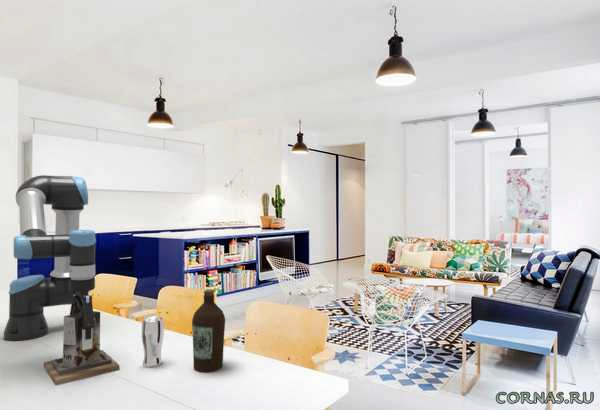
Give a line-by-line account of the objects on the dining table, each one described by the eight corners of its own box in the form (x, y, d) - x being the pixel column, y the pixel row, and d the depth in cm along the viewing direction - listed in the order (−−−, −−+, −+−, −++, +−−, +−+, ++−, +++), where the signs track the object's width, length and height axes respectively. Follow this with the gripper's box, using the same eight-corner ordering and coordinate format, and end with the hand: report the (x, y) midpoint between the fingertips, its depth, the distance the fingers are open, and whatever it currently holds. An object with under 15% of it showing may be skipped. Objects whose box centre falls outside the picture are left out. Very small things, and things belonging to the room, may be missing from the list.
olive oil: (202, 359, 144) (203, 286, 144) (230, 363, 141) (231, 289, 141) (185, 370, 134) (185, 293, 134) (214, 375, 131) (215, 295, 131)
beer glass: (167, 361, 142) (168, 317, 142) (154, 369, 135) (154, 322, 135) (150, 359, 144) (151, 315, 144) (136, 366, 137) (137, 320, 137)
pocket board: (43, 366, 136) (43, 358, 136) (102, 354, 148) (102, 346, 148) (55, 385, 123) (55, 376, 123) (119, 369, 135) (119, 361, 135)
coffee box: (77, 370, 130) (77, 318, 130) (62, 366, 133) (62, 316, 133) (100, 360, 139) (101, 311, 139) (86, 357, 141) (86, 309, 141)
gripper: (60, 273, 142) (59, 335, 143) (79, 285, 124) (78, 357, 124) (84, 271, 147) (83, 331, 147) (106, 282, 128) (105, 351, 129)
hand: (81, 343), depth 136 cm, fingers open, 13 cm apart
